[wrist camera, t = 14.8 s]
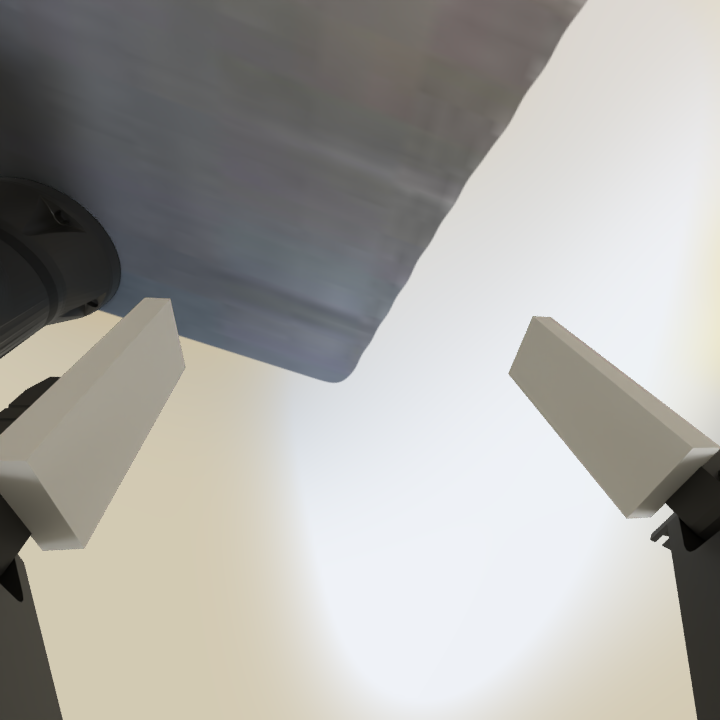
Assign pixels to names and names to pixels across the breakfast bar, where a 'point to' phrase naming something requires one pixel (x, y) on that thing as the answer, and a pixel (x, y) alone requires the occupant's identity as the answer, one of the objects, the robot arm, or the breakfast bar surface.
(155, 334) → the robot arm
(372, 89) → the breakfast bar surface
